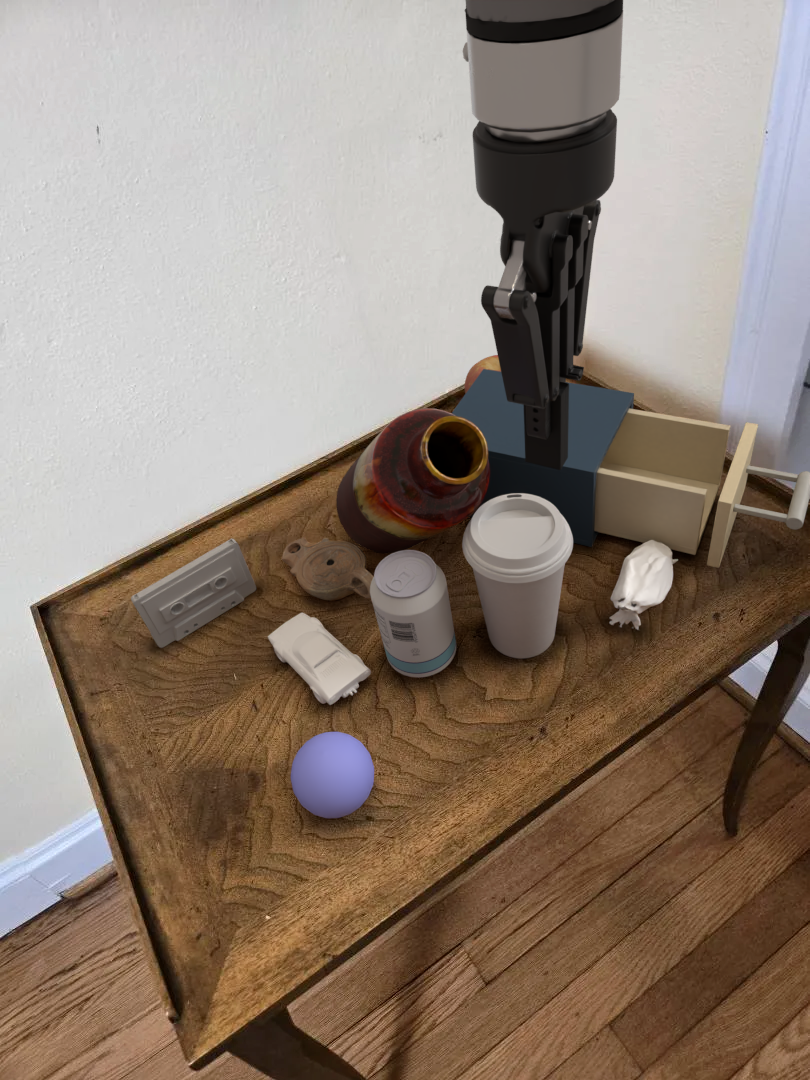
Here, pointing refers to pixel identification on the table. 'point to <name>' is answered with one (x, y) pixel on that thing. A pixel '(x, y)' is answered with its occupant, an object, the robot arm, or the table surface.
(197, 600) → the cassette
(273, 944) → the table surface
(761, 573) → the table surface
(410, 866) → the table surface
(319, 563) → the oil lamp
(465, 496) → the vase
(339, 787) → the sphere
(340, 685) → the toy car
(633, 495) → the drawer
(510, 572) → the coffee cup
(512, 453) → the cabinet
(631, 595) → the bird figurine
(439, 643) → the beverage can
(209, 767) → the table surface
